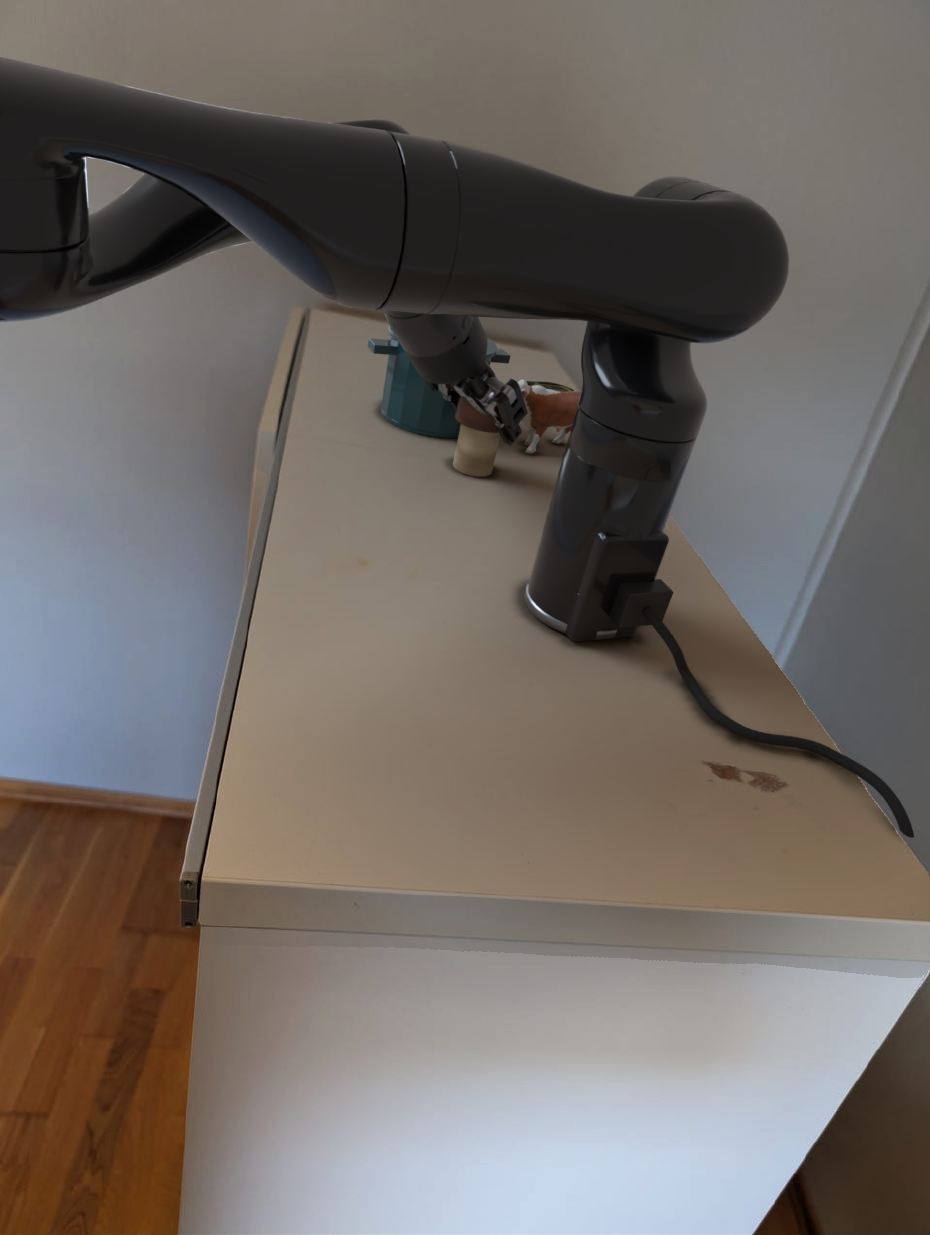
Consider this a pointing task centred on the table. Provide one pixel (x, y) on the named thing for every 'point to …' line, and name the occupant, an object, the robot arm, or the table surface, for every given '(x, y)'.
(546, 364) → the table surface
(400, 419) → the pot
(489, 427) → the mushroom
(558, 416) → the bull figurine
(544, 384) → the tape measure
